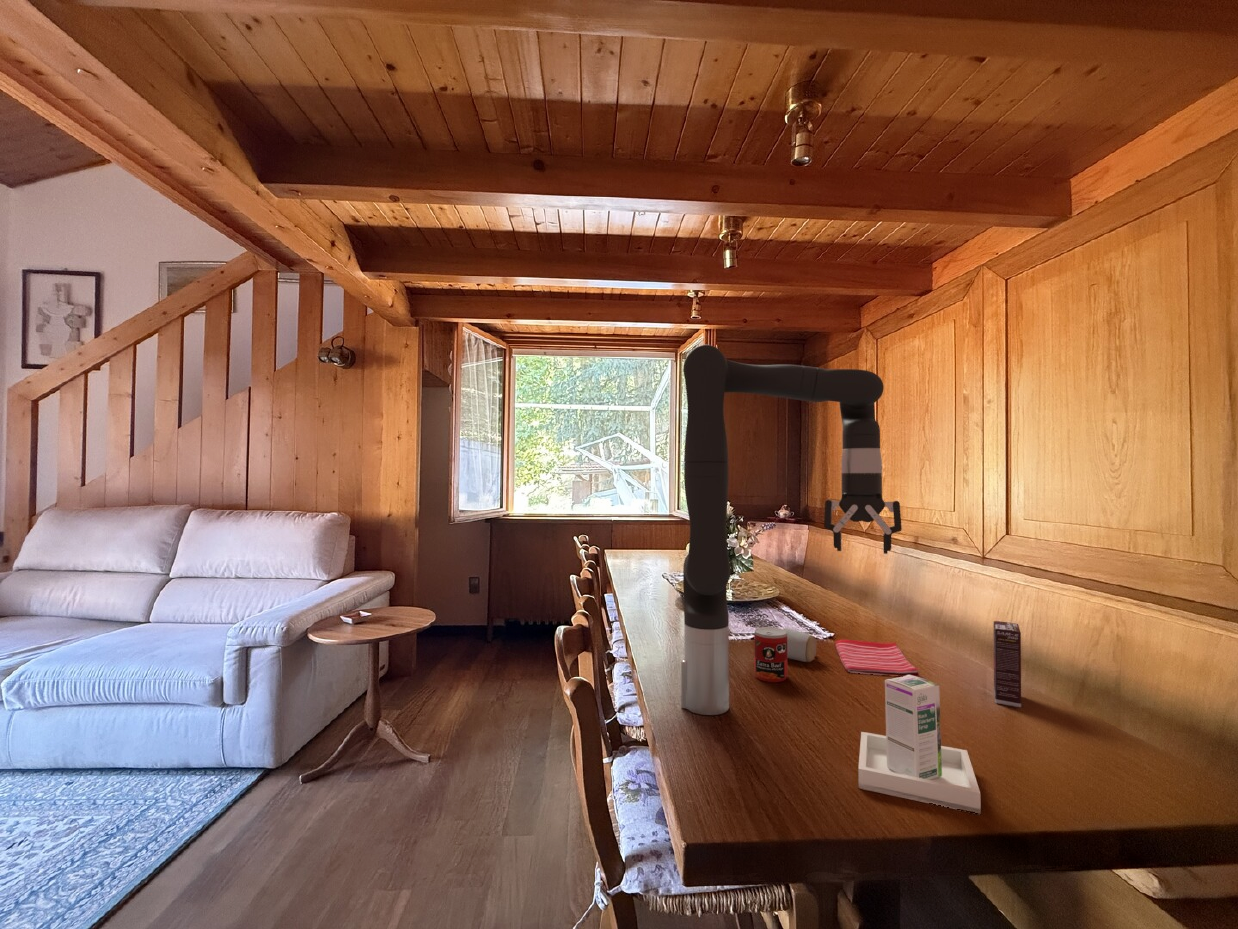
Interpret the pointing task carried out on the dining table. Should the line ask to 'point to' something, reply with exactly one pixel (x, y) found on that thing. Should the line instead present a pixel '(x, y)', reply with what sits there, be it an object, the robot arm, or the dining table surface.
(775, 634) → the canned food
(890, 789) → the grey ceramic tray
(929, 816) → the dining table surface
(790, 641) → the ceramic mug
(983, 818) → the dining table surface
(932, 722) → the syrup box
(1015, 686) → the supplement box
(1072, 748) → the dining table surface
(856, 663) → the dish towel
